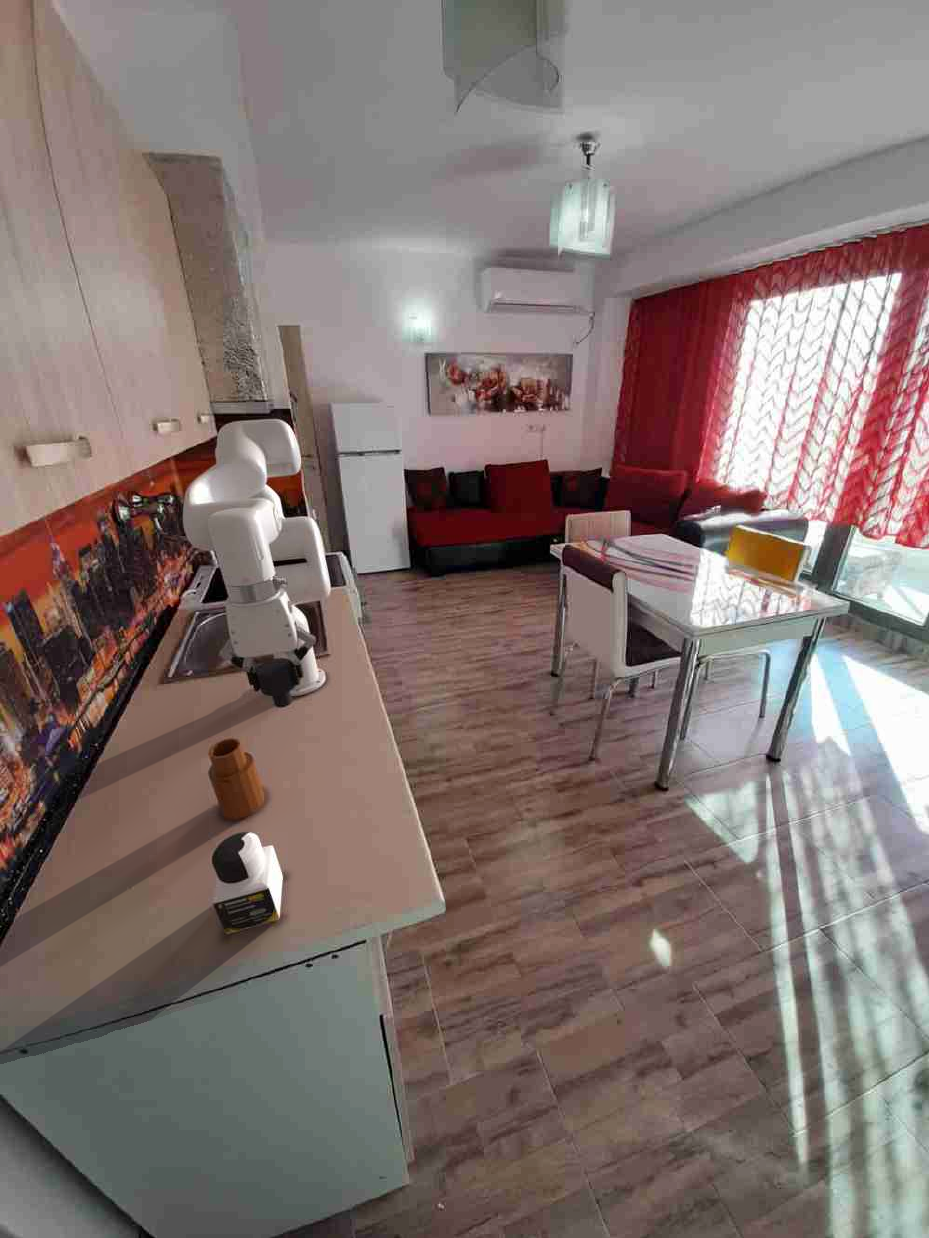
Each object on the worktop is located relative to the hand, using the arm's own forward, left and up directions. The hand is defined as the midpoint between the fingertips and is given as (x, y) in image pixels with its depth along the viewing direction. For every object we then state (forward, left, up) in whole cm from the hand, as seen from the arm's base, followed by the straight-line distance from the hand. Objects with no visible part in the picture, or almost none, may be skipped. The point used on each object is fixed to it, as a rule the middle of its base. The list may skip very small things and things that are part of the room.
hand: (278, 683), depth 83 cm
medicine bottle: (+25, -4, -22) cm, 34 cm away
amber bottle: (+4, -10, -22) cm, 24 cm away
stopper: (0, 0, -4) cm, 4 cm away
